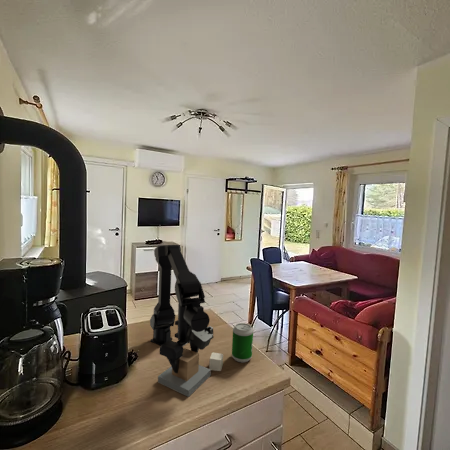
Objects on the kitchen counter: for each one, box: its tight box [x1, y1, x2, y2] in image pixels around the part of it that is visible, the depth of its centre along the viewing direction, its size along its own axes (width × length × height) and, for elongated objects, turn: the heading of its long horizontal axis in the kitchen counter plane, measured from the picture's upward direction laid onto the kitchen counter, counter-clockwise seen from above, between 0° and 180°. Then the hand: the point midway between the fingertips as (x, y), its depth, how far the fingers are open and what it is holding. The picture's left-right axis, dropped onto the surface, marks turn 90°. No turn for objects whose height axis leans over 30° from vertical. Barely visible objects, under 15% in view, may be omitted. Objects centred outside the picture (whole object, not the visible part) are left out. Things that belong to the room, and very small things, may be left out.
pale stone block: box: [208, 352, 224, 372], centre depth 93 cm, size 4×4×4 cm
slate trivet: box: [157, 364, 212, 398], centre depth 86 cm, size 12×12×2 cm
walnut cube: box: [172, 347, 200, 381], centre depth 86 cm, size 6×6×6 cm
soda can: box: [231, 322, 254, 363], centre depth 99 cm, size 8×8×12 cm
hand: (185, 365), depth 86 cm, fingers open, 9 cm apart
